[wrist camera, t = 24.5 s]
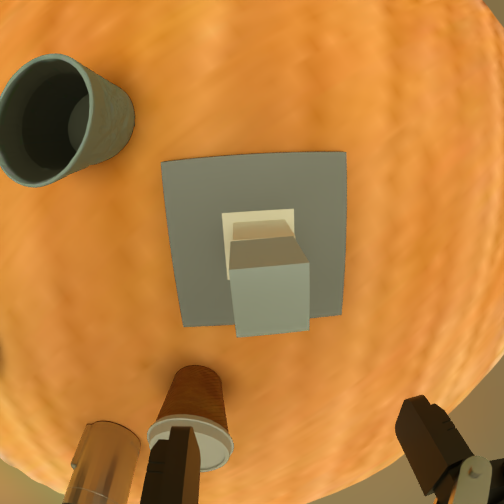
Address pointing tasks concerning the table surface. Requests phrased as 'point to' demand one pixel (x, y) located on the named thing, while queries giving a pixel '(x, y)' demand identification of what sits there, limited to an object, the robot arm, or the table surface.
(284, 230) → the cream block
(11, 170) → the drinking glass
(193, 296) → the board
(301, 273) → the blue grey block
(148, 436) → the disposable coffee cup
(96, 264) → the table surface
